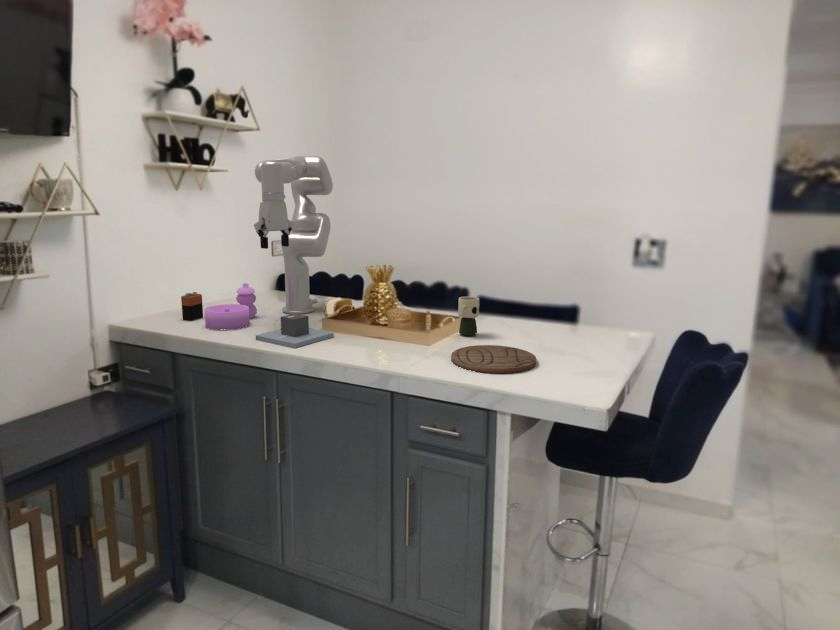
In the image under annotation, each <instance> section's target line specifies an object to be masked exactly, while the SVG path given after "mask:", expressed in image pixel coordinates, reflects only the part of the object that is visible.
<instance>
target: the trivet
mask: <svg viewBox="0 0 840 630" xmlns="http://www.w3.org/2000/svg"><path fill="white" fill-rule="evenodd" d="M450 358H451V360H450V361H451V363H452V362H453V363H452V364H453V365H454V364H455V365H454V366H455V367H457V366H458V367H457V368H459V367H461V368H460V369H462V368H463V369H462V370H465V369H466V371H469V370H471V371H470V372H473V371H475V372H474V373H479V372H480V374H488V375H489V374H490V375H513V374H520V373H524V372H527V371H531V370H533V369H535V368H536V366H537V360H538V359H537V356H536V355H535V354H533V353H532V352H530V351H528V350H525V349H522V348H517V347H511V346H505V345H496V344H495V345H494V344H485V345H484V344H481V345H479V344H478V345H477V344H476V345H470V346H464V347H461V348H458V349H455V350H453V352H451V356H450Z"/></svg>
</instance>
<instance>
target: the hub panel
mask: <svg viewBox="0 0 840 630" xmlns="http://www.w3.org/2000/svg"><path fill="white" fill-rule="evenodd" d="M334 336H335V333H334V332H331V331H326V330H321V329H316V328H313V327H309V334H305V335H301V336H298V337H292V336H287V335H282V334H281V328H280V329H276V330H271V331H267V332H264V333H263V332H262V333H260V334H256V335H255V340H256V341H260V342H266V343H271V344H273V343H274V345H278V344H279V345H278V346H282V345H284V347H287V346H288V347H287V348H291V347H292V348H293V349H298V348H300V346H301V347H304V346H308V345H310V344H314V342H315V343H318V342H321V340H322V341H325V340H328V338H329V339H331V338H334ZM324 339H325V340H324ZM307 344H308V345H307ZM303 345H304V346H303ZM297 347H298V348H297ZM292 348H291V349H292Z"/></svg>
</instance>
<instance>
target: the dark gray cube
mask: <svg viewBox="0 0 840 630" xmlns="http://www.w3.org/2000/svg"><path fill="white" fill-rule="evenodd" d="M309 321H310V320H309V315H305V314H286V315H282V316H280V329H281V334H282V335H287V336H292V337H298V336H301V335H305V334H309V328H310V325H309V324H310V323H309Z"/></svg>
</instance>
